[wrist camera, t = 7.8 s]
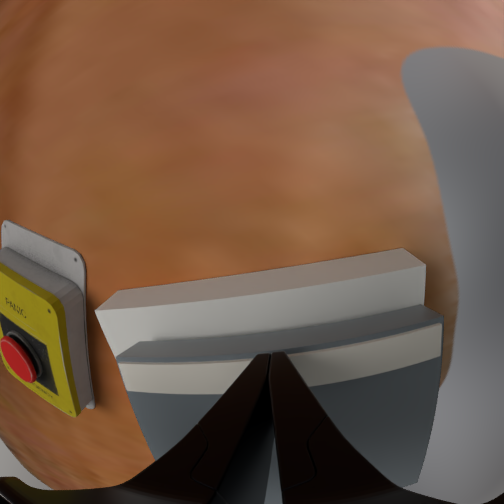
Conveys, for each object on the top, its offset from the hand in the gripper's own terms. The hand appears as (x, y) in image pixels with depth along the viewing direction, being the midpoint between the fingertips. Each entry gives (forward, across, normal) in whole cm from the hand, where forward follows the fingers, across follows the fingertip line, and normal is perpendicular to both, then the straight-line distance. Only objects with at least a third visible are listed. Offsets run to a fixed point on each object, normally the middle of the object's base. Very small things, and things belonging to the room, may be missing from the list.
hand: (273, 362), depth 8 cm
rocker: (0, 0, +4) cm, 4 cm away
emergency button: (+6, +18, +1) cm, 19 cm away
